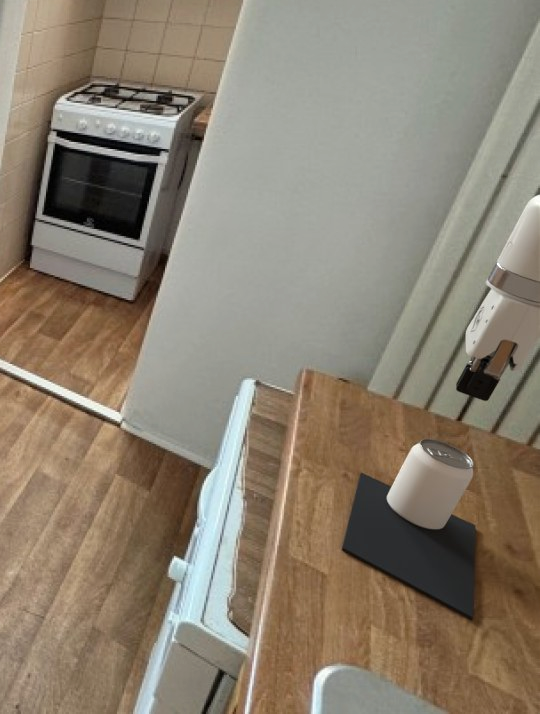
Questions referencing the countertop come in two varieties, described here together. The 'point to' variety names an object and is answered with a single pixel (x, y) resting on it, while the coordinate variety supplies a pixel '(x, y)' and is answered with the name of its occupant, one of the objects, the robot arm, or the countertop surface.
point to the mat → (413, 548)
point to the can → (430, 483)
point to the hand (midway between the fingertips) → (471, 393)
